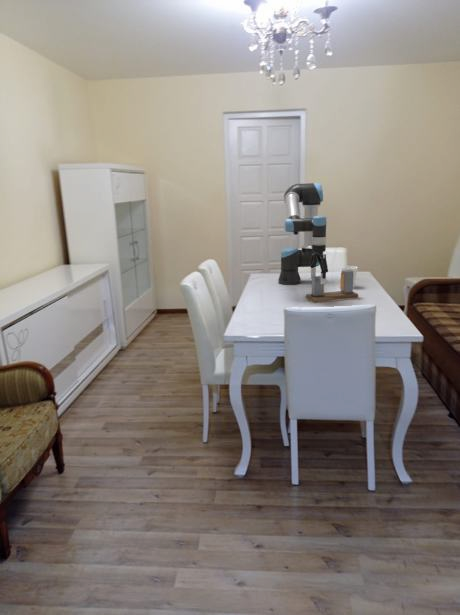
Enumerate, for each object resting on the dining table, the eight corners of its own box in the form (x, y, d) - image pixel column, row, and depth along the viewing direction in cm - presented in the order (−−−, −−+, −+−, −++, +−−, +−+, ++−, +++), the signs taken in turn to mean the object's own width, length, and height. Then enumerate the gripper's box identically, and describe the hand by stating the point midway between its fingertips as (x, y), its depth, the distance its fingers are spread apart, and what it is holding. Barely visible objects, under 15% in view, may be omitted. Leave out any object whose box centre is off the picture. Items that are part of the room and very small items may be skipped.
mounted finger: (352, 293, 252) (353, 271, 248) (343, 294, 251) (344, 272, 247) (349, 291, 256) (350, 270, 252) (339, 292, 254) (340, 270, 251)
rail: (306, 298, 254) (306, 294, 253) (349, 294, 259) (349, 290, 259) (313, 302, 244) (313, 298, 243) (358, 298, 250) (358, 294, 249)
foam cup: (355, 289, 270) (356, 269, 267) (340, 288, 274) (340, 268, 270) (357, 286, 278) (358, 266, 275) (342, 285, 282) (343, 265, 279)
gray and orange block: (311, 298, 251) (311, 276, 247) (320, 297, 252) (321, 275, 249) (314, 300, 247) (314, 278, 244) (323, 299, 249) (324, 277, 245)
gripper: (303, 241, 252) (303, 277, 258) (322, 248, 229) (321, 286, 235) (315, 240, 253) (315, 276, 260) (335, 247, 230) (333, 285, 236)
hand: (317, 281), depth 247 cm, fingers open, 13 cm apart
